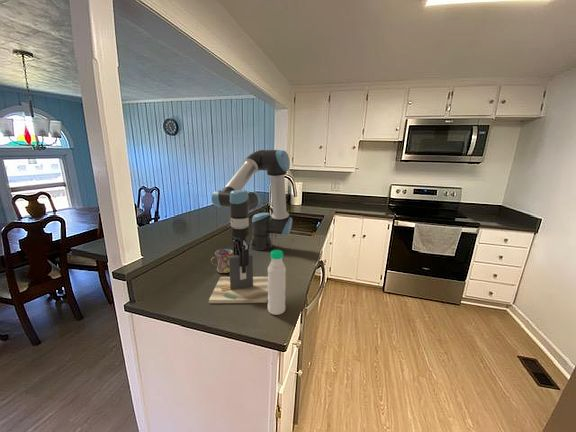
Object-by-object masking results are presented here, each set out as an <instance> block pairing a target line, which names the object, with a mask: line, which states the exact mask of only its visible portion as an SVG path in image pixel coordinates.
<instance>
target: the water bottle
mask: <svg viewBox="0 0 576 432" xmlns="http://www.w3.org/2000/svg"><path fill="white" fill-rule="evenodd" d="M283 258H284V252H283V251H282V250H281V249H273V250H271V251H270V259H271V260H270V262H269V265H268V266H267V277H268V298H267V311H268V312H269V314H272V315H275V316H278V315H282V314H283V313H284V312H285V311H286V290H287V289H286V286H287V282H286V281H287V277H286V272H287V269H286V268H287V267H286V265H285V263H284V261H283Z"/></svg>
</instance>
